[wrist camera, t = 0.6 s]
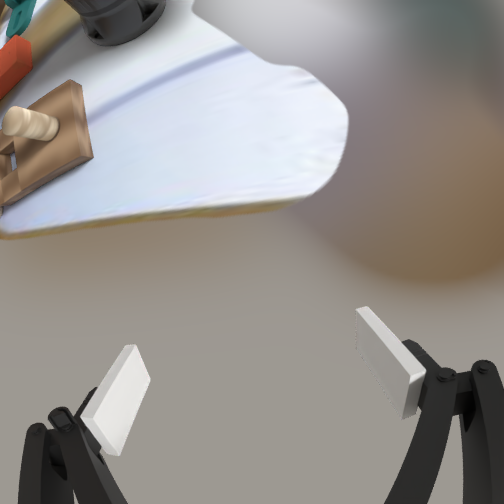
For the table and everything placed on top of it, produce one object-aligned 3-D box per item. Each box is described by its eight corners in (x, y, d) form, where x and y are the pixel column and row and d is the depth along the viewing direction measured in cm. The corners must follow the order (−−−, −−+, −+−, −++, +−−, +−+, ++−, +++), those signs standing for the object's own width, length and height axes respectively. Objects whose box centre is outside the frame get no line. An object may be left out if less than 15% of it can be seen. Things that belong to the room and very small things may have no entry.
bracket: (23, -4, 26) (8, -15, 18) (42, -17, 26) (28, -29, 18) (9, 43, 30) (-11, 34, 22) (28, 30, 30) (9, 18, 22)
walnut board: (2, 140, 36) (-46, 137, 22) (81, 85, 35) (34, 60, 21) (11, 204, 39) (-40, 214, 25) (93, 157, 38) (40, 150, 24)
